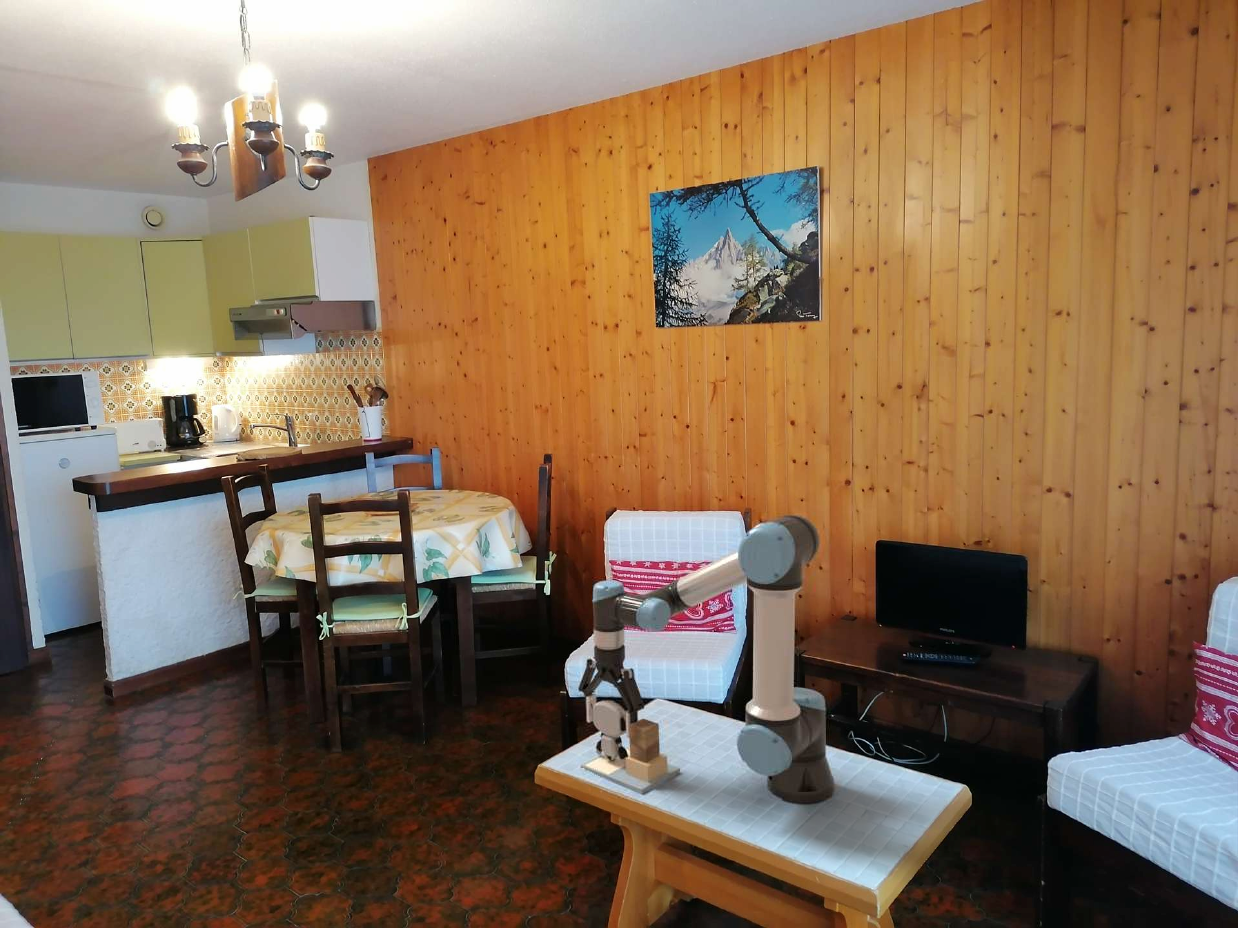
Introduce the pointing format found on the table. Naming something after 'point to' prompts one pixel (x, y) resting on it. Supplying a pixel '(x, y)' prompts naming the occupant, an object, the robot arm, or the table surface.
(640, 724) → the walnut block
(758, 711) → the robot arm
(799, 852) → the table surface
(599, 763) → the board
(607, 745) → the robot toy
